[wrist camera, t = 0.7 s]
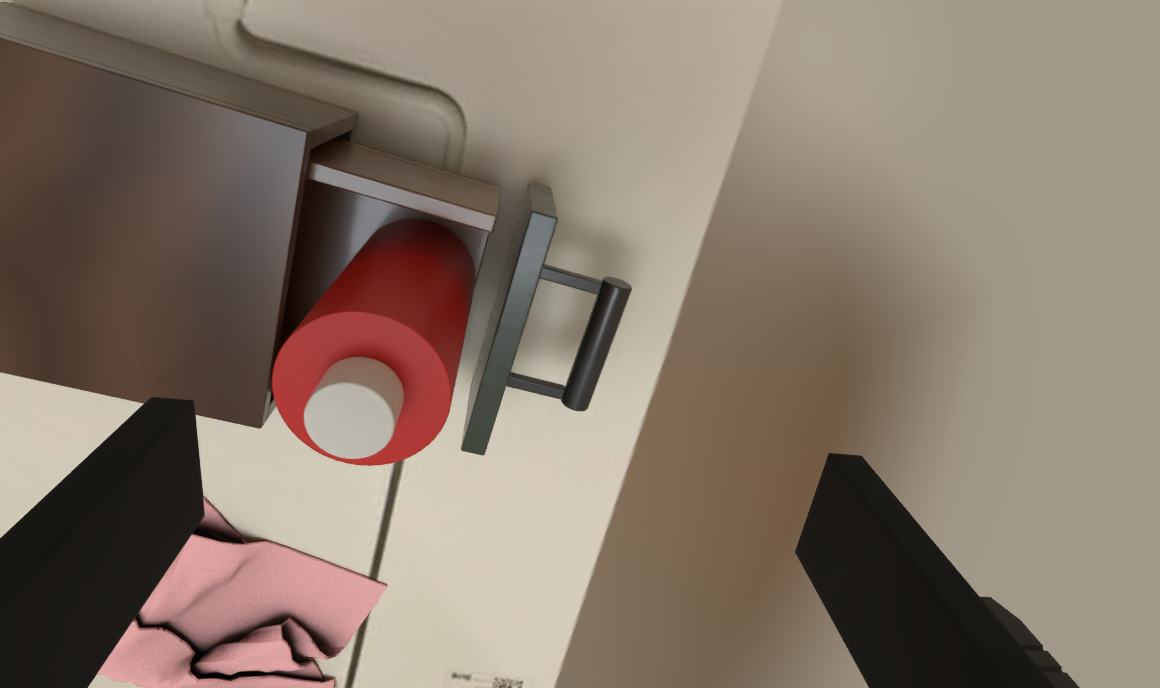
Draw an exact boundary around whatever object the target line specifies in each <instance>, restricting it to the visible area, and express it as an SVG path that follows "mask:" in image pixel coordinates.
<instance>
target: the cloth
mask: <svg viewBox="0 0 1160 688" xmlns="http://www.w3.org/2000/svg"><path fill="white" fill-rule="evenodd" d="M203 500H204V510H205V516H204V518H203V519H202V521H201V522H200V523H199V525H198V526H197V528H196V529H195V531H194V532H193V534H192V535H191V537H190V538H189V540H188V541H187V543H186V544H185V545H184V547H183V548H182V550H181V551H180V553H179V554H178V556H177V557H176V559H175V560H174V562H173V563H172V565H171V566H170V567H169V569H168V570H167V572H166V573H165V575H164V576H163V578H162V579H161V581H160V582H159V584H158V585H157V587H156V588H155V589H154V591H153V592H152V594H151V595H150V597H149V598H148V600H147V601H146V603H145V604H144V606H143V607H142V609H141V610H140V611H139V613H138V614H137V616H136V617H135V619H134V620H133V622H132V623H131V625H130V626H129V628H128V629H127V631H126V632H125V634H124V635H123V636H122V638H121V639H120V641H119V642H118V644H117V645H116V647H115V648H114V650H113V651H112V653H111V654H110V656H109V657H108V658H107V660H106V661H105V663H104V664H103V666H102V667H101V669H100V670H99V672H98V673H97V675H105V676H106V677H108V678H109V679H111V680H115V681H119V682H132V683H133V684H135V685H137V686H140V687H144V688H334V679H332V680H329V681H326V682H325V681H324V679H323V676H322V674H321V672H320V670H319V668H318V666H317V665H316V664H315V663H314V662H313V661H310V662H301V663H296V662H295V661H293V660H292V657H306V656H308V657H315V658H322V659H329V658H332V657H335V656H338V654H339V653H340V652H341V651H342V650H343V649H344V647H345V646H346V645H347V643H348V642H349V640H350V639H351V637H352V636H353V635H354V633H355V632H356V631H357V629H358V628H359V626H360V625H361V624H362V622H363V621H364V619H365V618H366V616H367V615H368V614H369V612H370V611H371V609H372V608H373V607H374V605H375V604H376V603H377V601H378V599H379V598H380V596H381V594H382V593H383V591H384V590H385V589H386V587H387V585H385V584H382V583H380V582H377V581H375V580H372V579H370V578H367V577H365V576H362V575H359V574H356V573H354V572H351V571H349V570H346V569H343V568H341V567H338V566H336V565H333V564H331V563H328V562H325V561H323V560H320V559H317V558H315V557H312V556H309V555H306V554H303V553H301V552H298V551H296V550H293V549H291V548H288V547H285V546H281V545H278V544H275V543H272V542H269V541H262V542H255V543H247V542H246V541H245V539H244V538H243V537H242V536H241V535H240V534H239V533H238V532H237V531H236V530H234V529H233V528H232V527H231V526H230V525H229V524H228V523H227V522H226V521H225V520H224V519H223V517H222V516H221V515H220V514H219V512H218V511H217V510H216V509H215V508H214V507H213V506H212V505H211V504H210V503H209V502H208V501H207V500H206V499H205V498H204V497H203Z"/></svg>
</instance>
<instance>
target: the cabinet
mask: <svg viewBox="0 0 1160 688" xmlns="http://www.w3.org/2000/svg"><path fill="white" fill-rule="evenodd" d="M357 118H358V112H356V111H352V110H349V109H346V108H343V107H340V106H337V105H333V104H330V103H327V102H324V101H321V100H318V99H314V98H311V97H308V96H305V95H302V94H299V93H295V92H292V91H289V90H286V89H283V88H279V87H276V86H273V85H270V84H267V83H264V82H260V81H257V80H254V79H251V78H248V77H245V76H241V75H238V74H235V73H232V72H229V71H225V70H222V69H219V68H216V67H213V66H210V65H206V64H203V63H200V62H197V61H194V60H191V59H187V58H184V57H181V56H178V55H175V54H172V53H168V52H165V51H162V50H159V49H156V48H152V47H149V46H146V45H143V44H140V43H137V42H133V41H130V40H127V39H124V38H121V37H118V36H114V35H111V34H108V33H105V32H102V31H98V30H95V29H92V28H89V27H86V26H83V25H79V24H76V23H73V22H70V21H67V20H64V19H60V18H57V17H54V16H51V15H48V14H44V13H41V12H38V11H35V10H32V9H29V8H25V7H22V6H19V5H16V4H13V3H7V2H0V372H2V373H6V374H11V375H15V376H20V377H25V378H29V379H34V380H38V381H43V382H48V383H52V384H57V385H61V386H66V387H71V388H75V389H80V390H84V391H89V392H94V393H98V394H103V395H107V396H112V397H117V398H121V399H126V400H130V401H135V402H140V403H146V402H147V401H148V400H149V399H150V398H151V397H160V398H172V399H184V400H194V406H195V415H200V416H204V417H209V418H213V419H218V420H223V421H227V422H232V423H236V424H241V425H246V426H250V427H255V428H259V429H260V428H262V426H263V425H264V423H265V422H266V420H267V419H268V417H269V416H270V414H271V413H272V412H273V410H274V409H275V407H276V403H275V399H274V395H273V393H271V391H272V373H273V368H274V363H275V360H276V358H277V354H278V348H279V341H280V335H281V329H282V323H283V317H284V310H285V304H286V298H287V292H288V286H289V280H290V273H291V267H292V261H293V255H294V249H295V243H296V236H297V230H298V224H299V218H300V212H301V206H302V199H303V193H304V187H305V181H306V175H307V168H308V162H309V156H310V150H311V149H312V148H314V147H316V146H318V145H320V144H322V143H324V142H327V141H329V140H331V139H333V138H335V137H336V138H339V139H342V140H346V141H349V142H352V143H353V140H354V135H355V129H356V124H357Z"/></svg>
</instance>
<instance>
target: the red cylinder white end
mask: <svg viewBox="0 0 1160 688" xmlns="http://www.w3.org/2000/svg"><path fill="white" fill-rule="evenodd" d="M474 287H475V269H474V264H473V261H472V258H471V256H470V254H469V252H468V250H467V248H466V247H465V245H464V244H463V243H462V241H461V240H460V239H459V238H458V237H457V236H456V235H455V234H453V233H452V232H451V231H449V230H448V229H446V228H445V227H443V226H441V225H439V224H437V223H434V222H431V221H427V220H422V219H403V220H398V221H395V222H391V223H389V224H387V225H385V226H383V227H382V228H380V229H378V230H377V231H376V232H375V233H374V234H373V235H372V236H371V237H370V238H369V239H368V240H367V242H366V243H365V244H364V245H363V247H362V248H361V249H360V250H359V251H358V253H357V254H356V255H355V256H354V258H353V259H352V260H351V261H350V263H349V264H348V265H347V266H346V268H345V269H344V270H343V271H342V272H341V274H340V275H339V276H338V277H337V279H336V280H335V281H334V282H333V284H332V285H331V286H330V287H329V288H328V290H327V291H326V292H325V293H324V295H323V296H322V297H321V298H320V300H319V301H318V302H317V303H316V304H315V306H314V307H313V308H312V309H311V311H310V312H309V313H308V314H307V316H306V317H305V318H304V319H303V320H302V322H301V323H300V324H299V325H298V327H297V328H296V329H295V330H294V332H293V333H292V334H291V335H290V336H289V338H288V339H287V340H286V341H285V343H284V344H283V346H282V348H281V349H280V351H279V353H278V355H277V358H276V360H275V363H274V368H273V373H272V389H273V395H274V399H275V403H276V406H277V408H278V411H279V413H280V415H281V417H282V418H283V420H284V422H285V423H286V424H287V426H288V427H289V429H290V430H291V431H292V432H293V433H294V434H295V435H296V436H297V437H298V438H299V439H300V440H301V441H302V442H304V443H305V444H306V445H307V446H309V447H310V448H312V449H313V450H315V451H317V452H319V453H321V454H322V455H324V456H326V457H329V458H332V459H334V460H337V461H341V462H345V463H349V464H355V465H368V466H372V465H384V464H389V463H394V462H397V461H401V460H403V459H406V458H408V457H410V456H412V455H414V454H416V453H418V452H419V451H421V450H422V449H424V448H425V447H426V446H427V445H429V444H430V443H431V442H432V441H433V440H434V439H435V438H436V436H437V435H438V434H439V432H440V431H441V430H442V428H443V426H444V424H445V422H446V420H447V417H448V415H449V411H450V406H451V401H452V396H453V391H454V386H455V381H456V377H457V372H458V367H459V362H460V357H461V352H462V347H463V342H464V337H465V332H466V327H467V322H468V317H469V312H470V307H471V302H472V297H473V292H474Z"/></svg>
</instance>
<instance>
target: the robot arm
mask: <svg viewBox="0 0 1160 688" xmlns="http://www.w3.org/2000/svg"><path fill="white" fill-rule="evenodd" d="M204 516H205V510H204V500H203V489H202V479H201V469H200V458H199V448H198V437H197V427H196V417H195V406H194V400H184V399H172V398H160V397H151V398H150V399H149V400H148V401H147V402H146V403H144V404H143V405H142V406H141V407H140V408H139V409H138V410H137V411H136V412H135V413H134V414H133V415H132V416H131V417H129V418H128V419H127V420H126V421H125V422H124V423H123V424H122V425H121V426H120V427H119V428H118V429H117V430H116V431H115V432H113V433H112V434H111V435H110V436H109V437H108V438H107V439H106V440H105V441H104V442H103V443H102V444H101V445H100V446H99V447H97V448H96V449H95V450H94V451H93V452H92V453H91V454H90V455H89V456H88V457H87V458H86V459H85V460H84V461H82V462H81V463H80V464H79V465H78V466H77V467H76V468H75V469H74V470H73V471H72V472H71V473H70V474H69V475H68V476H66V477H65V478H64V479H63V480H62V481H61V482H60V483H59V484H58V485H57V486H56V487H55V488H54V489H53V490H51V491H50V492H49V493H48V494H47V495H46V496H45V497H44V498H43V499H42V500H41V501H40V502H39V503H38V504H37V505H35V506H34V507H33V508H32V509H31V510H30V511H29V512H28V513H27V514H26V515H25V516H24V517H23V518H22V519H20V520H19V521H18V522H17V523H16V524H15V525H14V526H13V527H12V528H11V529H10V530H9V531H8V532H7V533H6V534H4V535H3V536H2V537H1V538H0V688H88V686H89V685H90V683H91V682H92V680H93V679H94V678H95V676H96V675H97V673H98V672H99V670H100V669H101V667H102V666H103V664H104V663H105V661H106V660H107V658H108V657H109V656H110V654H111V653H112V651H113V650H114V648H115V647H116V645H117V644H118V642H119V641H120V639H121V638H122V636H123V635H124V634H125V632H126V631H127V629H128V628H129V626H130V625H131V623H132V622H133V620H134V619H135V617H136V616H137V614H138V613H139V611H140V610H141V609H142V607H143V606H144V604H145V603H146V601H147V600H148V598H149V597H150V595H151V594H152V592H153V591H154V589H155V588H156V587H157V585H158V584H159V582H160V581H161V579H162V578H163V576H164V575H165V573H166V572H167V570H168V569H169V567H170V566H171V565H172V563H173V562H174V560H175V559H176V557H177V556H178V554H179V553H180V551H181V550H182V548H183V547H184V545H185V544H186V543H187V541H188V540H189V538H190V537H191V535H192V534H193V532H194V531H195V529H196V528H197V526H198V525H199V523H200V522H201V521H202V519H203V518H204ZM795 553H796V555H797V556H798V558H799V560H800V562H801V563H802V566H803V567H804V569H805V571H806V573H807V575H808V577H809V578H810V580H811V582H812V584H813V586H814V587H815V589H816V591H817V593H818V595H819V597H820V598H821V600H822V602H823V604H824V606H825V608H826V610H827V611H828V613H829V615H830V617H831V619H832V621H833V622H834V624H835V626H836V628H837V630H838V632H839V633H840V635H841V637H842V639H843V641H844V643H845V644H846V646H847V648H848V650H849V652H850V654H851V655H852V657H853V659H854V661H855V663H856V664H857V667H858V668H859V670H860V672H861V674H862V676H863V678H864V679H865V681H866V683H867V685H868V687H869V688H1079V686H1077V684H1076V683H1075V682H1074V681H1073V680H1072V678H1071V677H1070V676H1069V675H1068V674H1067V673H1063V672H1062V670H1061V668H1062V667H1061V666H1060V665H1059V664H1058V662H1057V661H1056V660H1055V659H1054V658H1053V657H1052V656H1051V654H1050V653H1049V652H1048V651H1044V650H1043V645H1042V644H1041V643H1040V642H1039V641H1038V640H1037V639H1036V637H1035V636H1034V635H1033V634H1032V633H1031V632H1030V631H1029V629H1028V628H1027V627H1026V626H1025V625H1024V624H1023V622H1022V621H1021V620H1019V619H1018V618H1017V617H1016V616H1014V615H1013V614H1012V613H1010V612H1009V611H1008V610H1007V609H1005V608H1004V607H1003V606H1001V605H1000V604H999V603H997V602H996V601H995V600H993V599H992V598H991V597H979V596H978V595H977V593H976V592H975V591H974V590H973V588H972V587H971V586H970V585H969V584H968V582H967V581H966V580H965V579H964V578H963V577H962V575H961V574H960V573H959V572H958V571H957V569H956V568H955V567H954V566H953V565H952V563H951V562H950V561H949V560H948V559H947V557H946V556H945V555H944V554H943V553H942V551H941V550H940V549H939V548H938V547H937V545H936V544H935V543H934V542H933V541H932V539H931V538H930V537H929V536H928V535H927V533H926V532H925V531H924V530H923V529H922V528H921V527H920V525H919V524H918V523H917V522H916V520H915V519H914V518H913V517H912V516H911V514H910V513H909V512H908V511H907V510H906V508H905V507H904V506H903V505H902V504H901V502H900V501H899V500H898V499H897V498H896V496H895V495H894V494H893V493H892V492H891V491H890V489H889V488H888V487H887V486H886V485H885V483H884V482H883V481H882V480H881V479H880V477H879V476H878V475H877V474H876V473H875V471H874V470H873V469H872V468H871V467H870V465H868V463H867V462H866V461H865V459H864V458H863V457H862V456H857V455H846V454H834V453H829V454H828V457H827V460H826V463H825V466H824V469H823V472H822V475H821V478H820V481H819V484H818V487H817V489H816V492H815V496H814V498H813V501H812V504H811V507H810V510H809V513H808V516H807V519H806V521H805V524H804V527H803V530H802V533H801V536H800V539H799V542H798V545H797V548H796V551H795Z"/></svg>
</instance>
